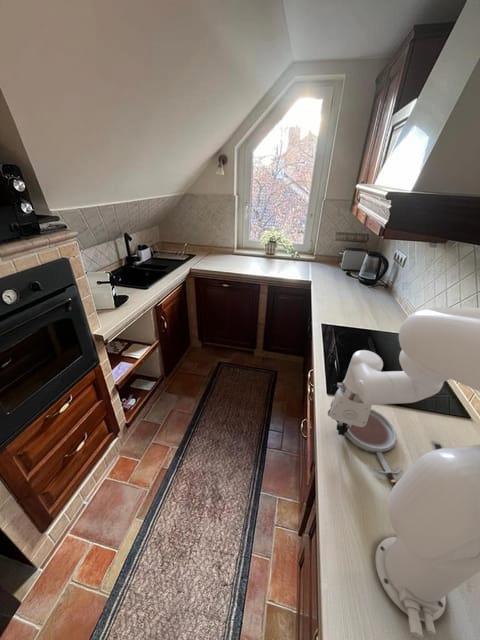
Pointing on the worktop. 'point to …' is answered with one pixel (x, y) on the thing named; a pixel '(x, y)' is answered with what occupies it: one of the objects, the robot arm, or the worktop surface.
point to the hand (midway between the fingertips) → (340, 431)
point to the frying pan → (375, 438)
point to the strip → (438, 446)
